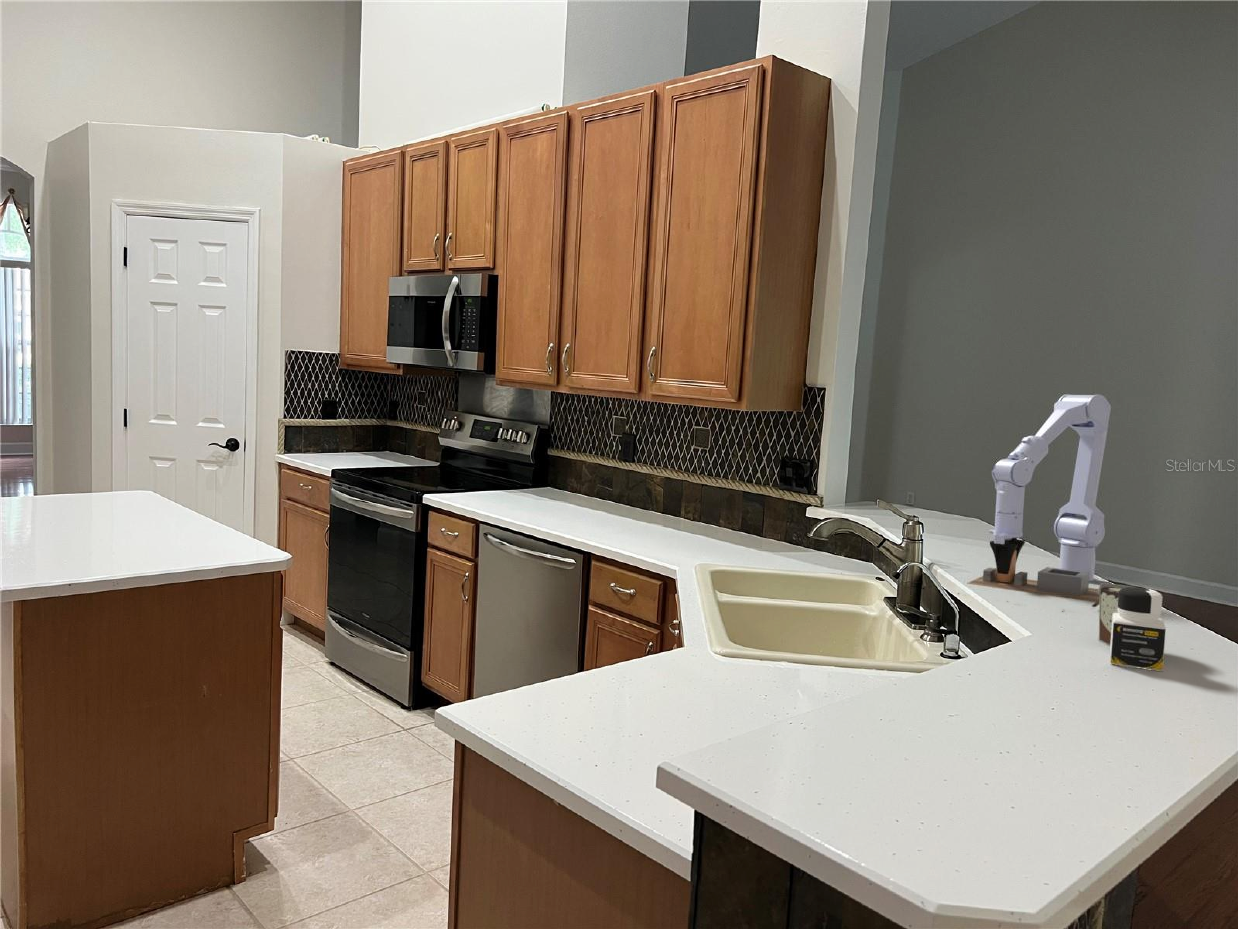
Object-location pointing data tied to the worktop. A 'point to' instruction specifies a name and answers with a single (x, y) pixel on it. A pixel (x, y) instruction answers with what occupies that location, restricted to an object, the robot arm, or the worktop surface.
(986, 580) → the dock board
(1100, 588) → the food container
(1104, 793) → the worktop surface
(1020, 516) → the robot arm
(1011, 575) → the peg
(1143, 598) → the medicine bottle
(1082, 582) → the socket
